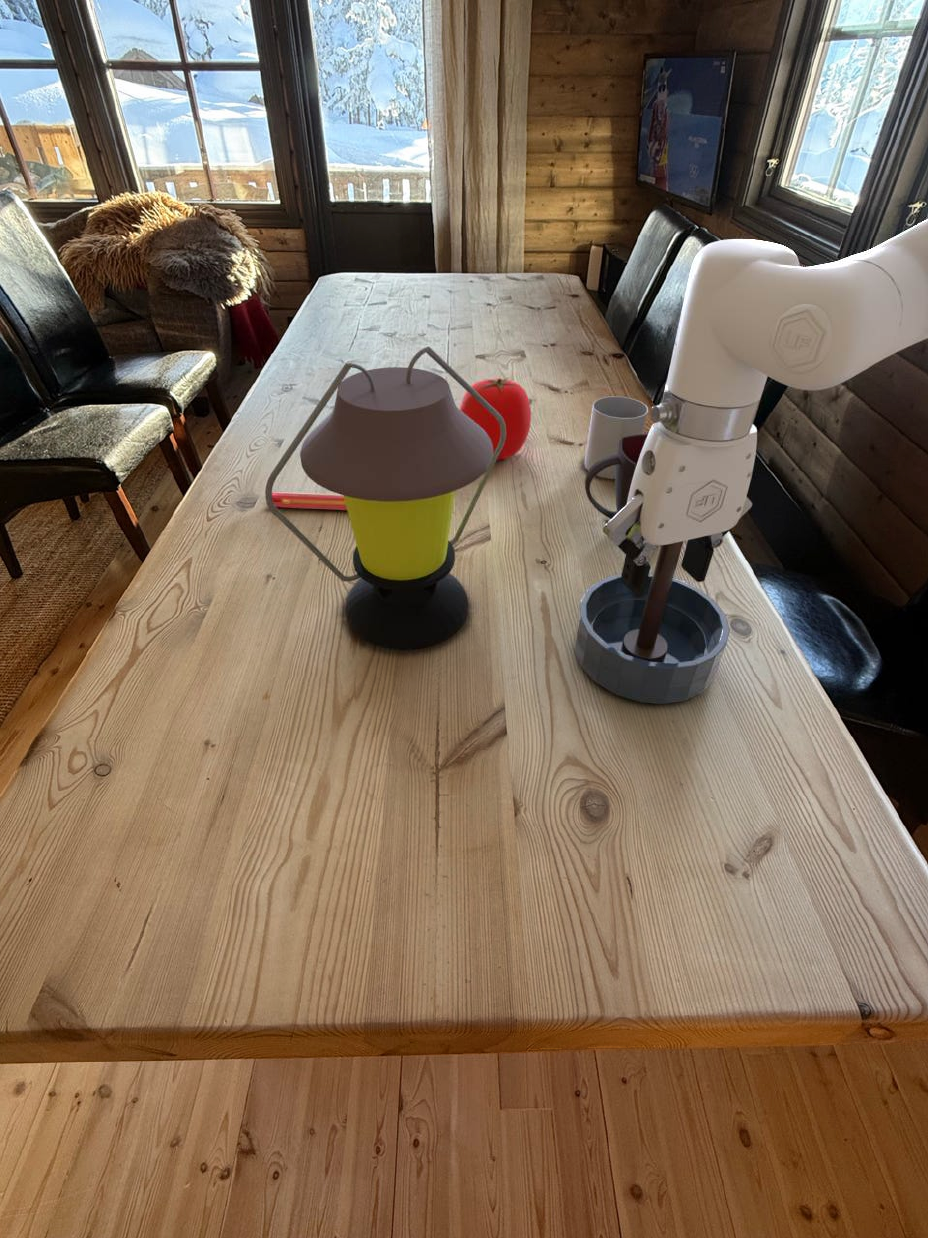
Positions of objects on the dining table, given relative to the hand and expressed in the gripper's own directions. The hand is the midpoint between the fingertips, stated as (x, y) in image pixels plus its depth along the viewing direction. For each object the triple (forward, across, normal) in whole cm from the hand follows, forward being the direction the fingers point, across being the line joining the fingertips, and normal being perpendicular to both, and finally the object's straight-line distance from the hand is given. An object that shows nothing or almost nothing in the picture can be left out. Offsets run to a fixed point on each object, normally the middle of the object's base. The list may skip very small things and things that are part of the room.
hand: (662, 580), depth 67 cm
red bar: (+11, -23, +42) cm, 49 cm away
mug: (+11, +12, +23) cm, 28 cm away
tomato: (+11, +3, +51) cm, 52 cm away
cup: (+11, +19, +40) cm, 46 cm away
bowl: (+11, 0, 0) cm, 11 cm away
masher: (+10, 0, 0) cm, 10 cm away
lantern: (+11, -23, +17) cm, 30 cm away
